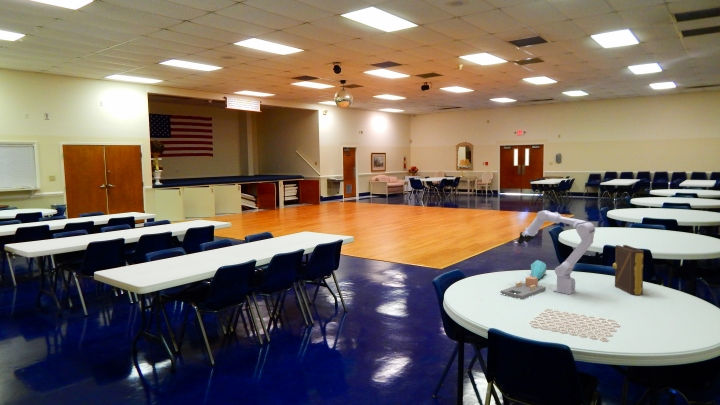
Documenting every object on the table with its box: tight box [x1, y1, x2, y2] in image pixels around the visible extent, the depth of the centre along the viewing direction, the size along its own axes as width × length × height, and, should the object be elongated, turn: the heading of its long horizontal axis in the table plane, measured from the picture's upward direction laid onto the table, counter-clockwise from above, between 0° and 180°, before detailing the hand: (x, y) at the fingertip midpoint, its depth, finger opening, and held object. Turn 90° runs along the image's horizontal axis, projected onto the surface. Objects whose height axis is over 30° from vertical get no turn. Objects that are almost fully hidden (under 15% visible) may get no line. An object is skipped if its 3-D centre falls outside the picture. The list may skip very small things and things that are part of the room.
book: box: [612, 244, 645, 296], centre depth 270 cm, size 22×8×25 cm, turn 179°
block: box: [525, 275, 539, 287], centre depth 278 cm, size 5×5×5 cm
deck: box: [500, 281, 547, 300], centre depth 272 cm, size 14×25×4 cm, turn 129°
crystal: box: [530, 259, 547, 280], centre depth 306 cm, size 10×34×10 cm, turn 154°
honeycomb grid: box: [529, 308, 621, 343], centre depth 219 cm, size 30×35×1 cm
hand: (522, 242), depth 290 cm, fingers open, 7 cm apart
